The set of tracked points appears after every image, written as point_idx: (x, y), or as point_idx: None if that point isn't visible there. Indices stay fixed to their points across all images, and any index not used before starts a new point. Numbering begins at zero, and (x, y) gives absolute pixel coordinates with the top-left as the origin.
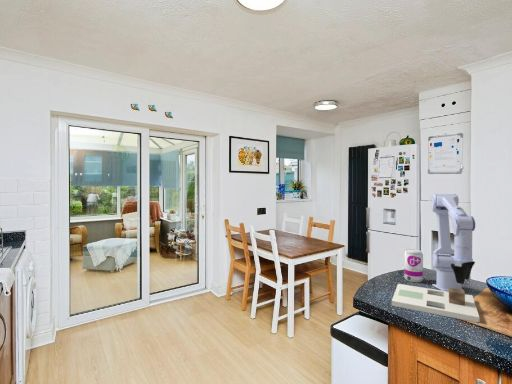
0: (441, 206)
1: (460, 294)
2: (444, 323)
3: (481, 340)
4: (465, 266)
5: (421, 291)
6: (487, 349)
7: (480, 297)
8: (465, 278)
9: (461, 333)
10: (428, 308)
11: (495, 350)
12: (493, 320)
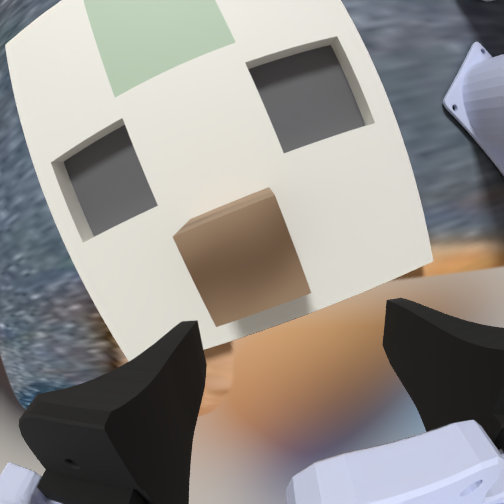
0: None
1: (205, 300)
2: (27, 268)
3: (35, 374)
4: (449, 406)
5: (261, 23)
6: (15, 386)
7: (476, 264)
8: (387, 327)
9: (19, 329)
10: (41, 181)
11: (27, 399)
12: (219, 382)
